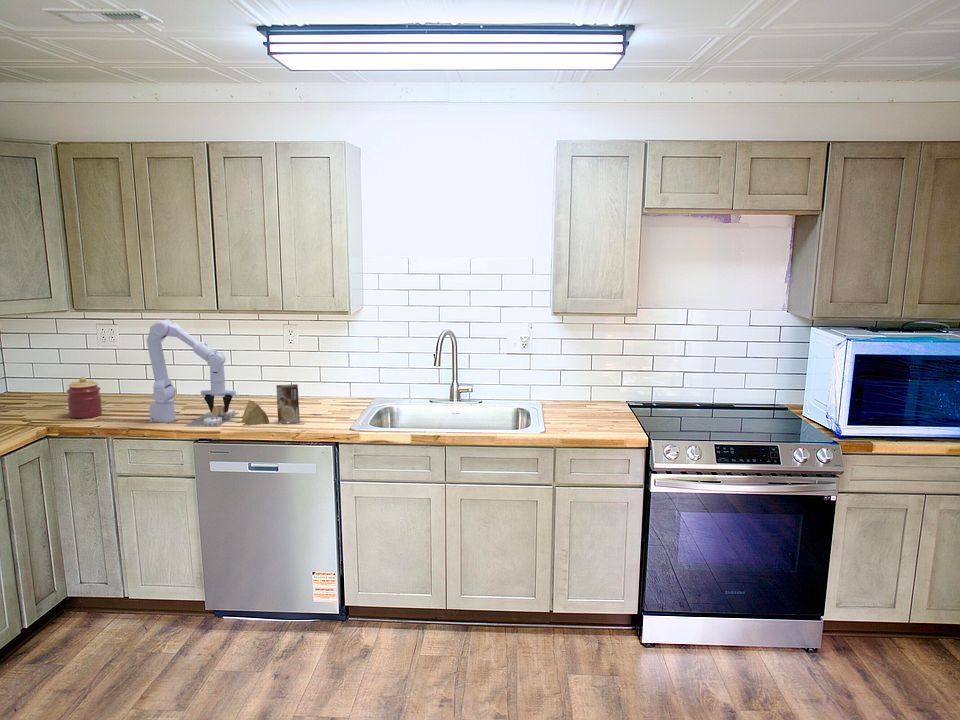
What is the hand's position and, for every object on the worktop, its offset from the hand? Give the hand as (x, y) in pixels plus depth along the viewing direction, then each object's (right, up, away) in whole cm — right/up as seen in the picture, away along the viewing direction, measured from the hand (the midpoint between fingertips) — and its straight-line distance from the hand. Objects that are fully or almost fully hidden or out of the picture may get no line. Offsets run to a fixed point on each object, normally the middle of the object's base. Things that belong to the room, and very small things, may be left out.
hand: (219, 411), depth 286 cm
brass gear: (0, -1, 0) cm, 1 cm away
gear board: (-3, -4, +1) cm, 5 cm away
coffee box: (+29, -5, +2) cm, 30 cm away
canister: (-62, -3, +8) cm, 63 cm away
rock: (+16, -5, -1) cm, 17 cm away
